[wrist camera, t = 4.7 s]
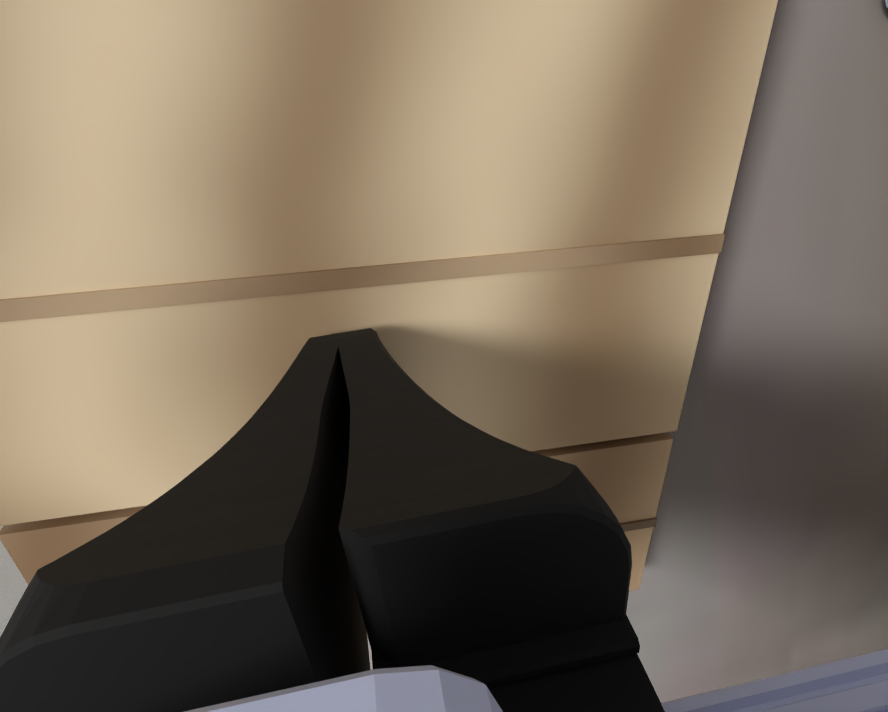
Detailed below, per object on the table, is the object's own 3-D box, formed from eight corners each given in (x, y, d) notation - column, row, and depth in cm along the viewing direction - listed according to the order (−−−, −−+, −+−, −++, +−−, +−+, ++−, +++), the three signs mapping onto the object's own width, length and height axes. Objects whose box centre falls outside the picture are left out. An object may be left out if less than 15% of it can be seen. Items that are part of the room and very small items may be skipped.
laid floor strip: (651, 411, 16) (675, 440, 15) (622, 558, 19) (639, 591, 18) (22, 496, 14) (-4, 537, 12) (106, 646, 17) (91, 689, 16)
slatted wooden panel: (744, -44, 10) (793, -51, 9) (653, 403, 16) (678, 432, 14) (-274, -24, 8) (-366, -31, 7) (16, 488, 13) (-11, 529, 12)
